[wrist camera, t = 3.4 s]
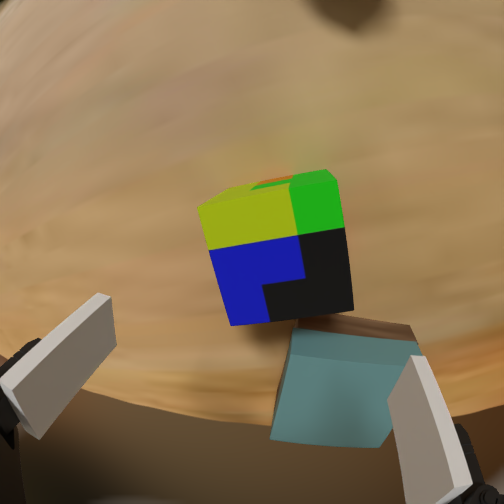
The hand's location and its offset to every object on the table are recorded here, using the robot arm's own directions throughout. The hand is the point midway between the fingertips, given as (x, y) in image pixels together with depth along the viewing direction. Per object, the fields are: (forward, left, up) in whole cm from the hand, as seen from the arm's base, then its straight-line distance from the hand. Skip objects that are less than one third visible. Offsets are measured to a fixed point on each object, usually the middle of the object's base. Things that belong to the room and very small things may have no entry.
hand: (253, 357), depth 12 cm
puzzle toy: (0, 0, -21) cm, 21 cm away
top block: (+16, +10, -17) cm, 25 cm away
